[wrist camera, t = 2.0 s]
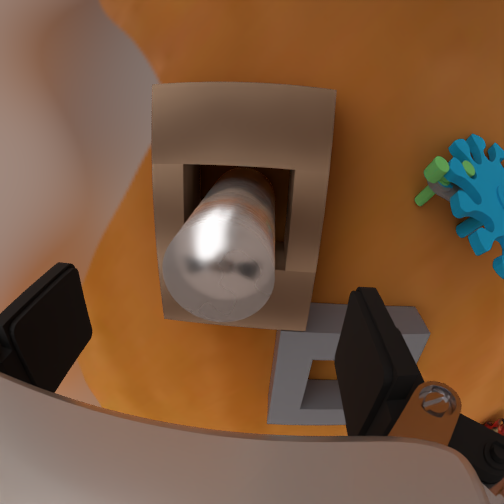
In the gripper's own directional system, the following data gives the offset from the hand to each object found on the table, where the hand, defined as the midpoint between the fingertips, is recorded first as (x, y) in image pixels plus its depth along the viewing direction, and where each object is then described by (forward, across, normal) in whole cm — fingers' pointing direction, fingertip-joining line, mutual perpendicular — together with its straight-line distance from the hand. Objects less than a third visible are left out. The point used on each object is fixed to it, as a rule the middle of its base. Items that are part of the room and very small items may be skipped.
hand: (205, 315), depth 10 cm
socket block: (+12, -9, +12) cm, 19 cm away
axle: (+11, 0, -1) cm, 11 cm away
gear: (+12, -16, -4) cm, 20 cm away
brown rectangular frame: (+11, 0, -1) cm, 11 cm away
